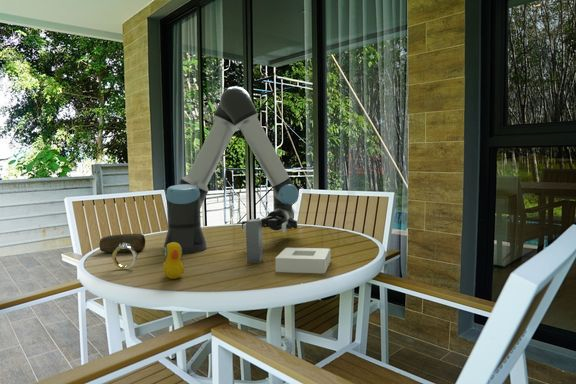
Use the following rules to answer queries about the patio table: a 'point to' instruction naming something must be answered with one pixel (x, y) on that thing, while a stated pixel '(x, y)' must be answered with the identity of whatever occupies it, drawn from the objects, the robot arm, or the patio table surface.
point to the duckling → (173, 261)
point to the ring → (124, 248)
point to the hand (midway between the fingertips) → (263, 228)
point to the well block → (303, 260)
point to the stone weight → (114, 240)
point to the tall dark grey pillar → (254, 241)
